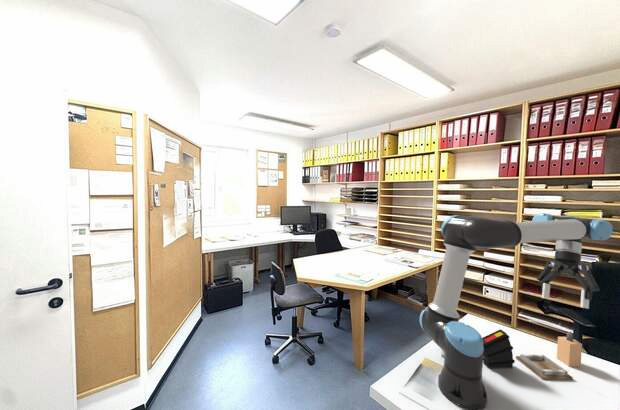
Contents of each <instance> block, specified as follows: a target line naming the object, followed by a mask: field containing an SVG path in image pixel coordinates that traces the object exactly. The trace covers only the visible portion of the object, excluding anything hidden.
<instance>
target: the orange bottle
mask: <svg viewBox="0 0 620 410" xmlns="http://www.w3.org/2000/svg"><path fill="white" fill-rule="evenodd" d="M582 349H583V343H581V342H580V341H578V340H577V339H574V333H572V332H570V331H568V332H566V336H557V348H556V350H557V351H556V359H557V360H558V361H560V362H562V363H563V364H564V365H566V366H567V367H571V366H582V353H583V352H582V351H583V350H582Z"/></svg>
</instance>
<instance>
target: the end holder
mask: <svg viewBox="0 0 620 410" xmlns="http://www.w3.org/2000/svg"><path fill="white" fill-rule="evenodd" d="M515 359H516V360H518V361H519V362H520V364H522V365H524V366H525V367H526V368H527V369H529V370H530V371H531V372H532V373H534V375H536V376H537V377H539V378H540V379H541V380H562V381H563V380H565V381H568V380H569V381H573V379H574V378H573V376H571V375H570V374H569V373H568V371H567V370H566V369H564V368H563V367H562V366H560V365H559V364H557V363H556V362H554V361H553V360H552V359H550V358H548V356H546V355H544V354H520V355H517V356H515Z"/></svg>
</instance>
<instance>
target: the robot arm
mask: <svg viewBox="0 0 620 410" xmlns="http://www.w3.org/2000/svg"><path fill="white" fill-rule="evenodd" d="M440 227H441V228H440V233H441V234H442V236H443V238H444V239H443V245H444V246H445V252H444V256H443V261H442V266H441V269H440V273H439V276H438V277H439V278H438V282H437V286H436V290H435V293H434V298H433V301H432V302H430V303H428V304H427V305H428V306H427V307H425V308H424V309H423V310H421V312H420V315H419V324H420V327H421V329H422V330H423V331H424V333H425V335H426V336H427V337H428V338H430V340H431V341H433V342H434V343H435V344H436V345H437V346H438V347H439V348H440V349H441V351H442V350H443V351H444V358H443V359H444V362H443V363H444V364H443V366H442V368H441V370H440V373H439V374H438V378H437V380H438V381H437V386H438V389H439V390H440V392H441V394H443V396H444V395H445V396H446V397H445V396H444V397H445V398H446V399H447V400H449V401H450V400H451V401H450V402H452V401H453V402H455V403H457V404H459V405H460V406H459V405H458V406H459V407H461V408H464V409H466V410H483V409H485V408H487V405H488V394H487V390H486V387H485V384H484V381H483V365H484V364H483V352H484V347H483V339H482V338H483V337H482V335H481V333H480V332H479V331H478V330H477V329H475V328H474V327H472V326H471V325H469V324H465V323H464V322H461V321H459V320H460V314H459V313H458V311H457V310H458V306H459V305H458V304H459V302H460V297H461V293H462V289H463V285H464V280H465V276H466V272H467V269H468V264H469V260H470V257H471V254H473V253H475V252H476V250H477V249H499V248H500V249H501V248H502V249H503V248H511V247H512V248H514V247H517V246H519V245H520V244H526V243H527V244H528V243H539V242H540V243H541V242H554V241H555V252H554V259H555V261H554V262H553V261H548V260H547V261H546V263H545V266H544V267H543V269H542V271H541V272H540V273H539V275H538V276H537V278H536V280H537V281H539V282H540V283H541V285H540V289H541V291H542V292H541V299H545V300H550V293H551V292H550V291H551V284H550V283H551V282H552V281H553V280H554V279H555V278H557V277H558V276H559V275H569V276H570V275H571V276H572V277H574V278H575V280H576V281H577V282H578V284H580V286H581V287H582V288H583V289H581V292H580V293H581V294H580V304H579V305H580V306H579V307H580V308H584V309H590V301H592V299H593V293H594V292H600V291H601V290H600V287H599V285H598V283H597V281H596V280H595V278H594V276H593V274H592V272H591V267H590V266H589V265H587V264H581V262H582V254H581V253H582V247H583V240H584V239H589V240H593V241H607V240H608V239H610V238H611V236H612V235H613V232H614V230H613V229H614V228H613V225H612V223H611V222H610V221H608V220H605V219H599V218H588V217H587V218H586V217H579V216H575V215H560V216H559V215H552V214H550V213H545V212H539V213H537V214H535V215H534V216H533V218H532V220H531V221H521V222H520V221H519V222H518V221H517V222H515V221H513V220H507V219H506V220H500V219H499V220H498V219H491V218H485V217H479V216H478V217H476V216H471V215H466V214H465V215H464V214H460V215H459V214H455V215H450V216H449V217H447V218H446V219H444V221H443V222H442V224H441V226H440ZM580 270H581V273H582V274H581V273H580ZM582 275H583V276H582ZM453 402H452V403H453ZM455 403H454V404H455ZM457 404H456V405H457Z"/></svg>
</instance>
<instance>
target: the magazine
mask: <svg viewBox="0 0 620 410" xmlns="http://www.w3.org/2000/svg"><path fill="white" fill-rule="evenodd" d="M510 338H511V337H510V335H508V334H507V332H506V331H504V330H502V329H501V328H500V329H498V330H496V331H494V332H492V333H490V334H487V335H486V336H483V337H482V339H483V347H484V352H483V365H484V366H486V368H487V369H513V368H514V366H513V364H515V362H516V361H515V359H514V357H513V356H514V355H513V350H514V346H512V345H511V341H510Z"/></svg>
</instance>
